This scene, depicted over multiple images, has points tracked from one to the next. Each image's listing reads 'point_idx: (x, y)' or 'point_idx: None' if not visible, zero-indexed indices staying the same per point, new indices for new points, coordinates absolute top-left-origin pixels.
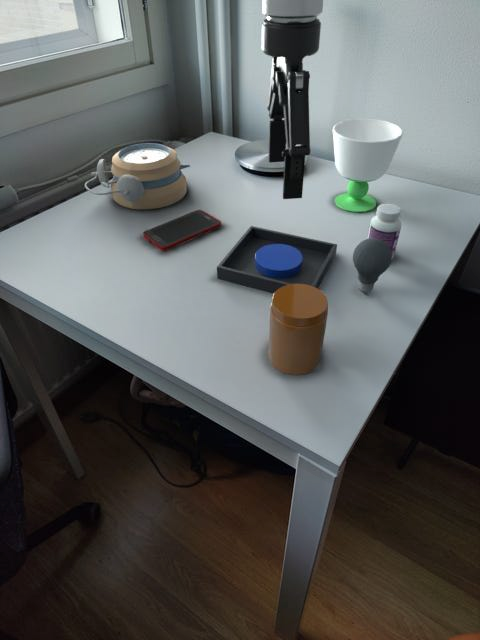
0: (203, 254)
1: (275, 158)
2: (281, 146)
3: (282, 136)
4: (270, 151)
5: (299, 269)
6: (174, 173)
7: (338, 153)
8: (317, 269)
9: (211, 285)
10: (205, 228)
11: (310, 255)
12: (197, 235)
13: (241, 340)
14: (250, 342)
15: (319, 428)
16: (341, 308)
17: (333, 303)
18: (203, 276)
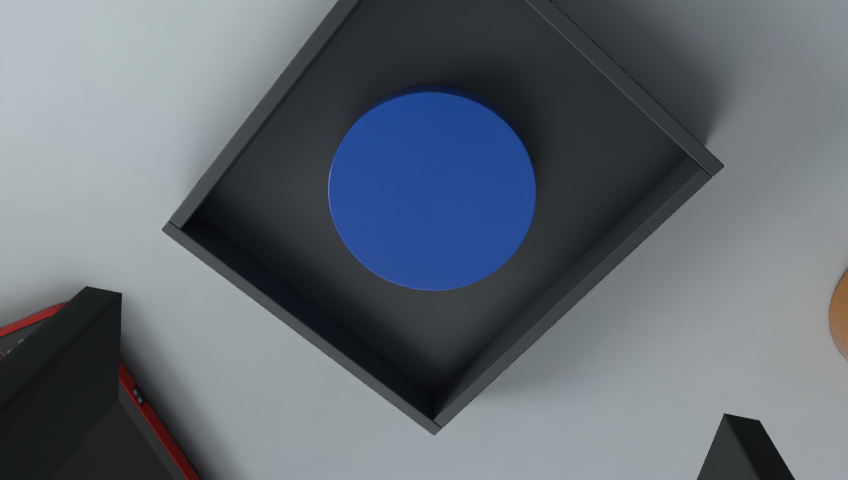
0: (268, 406)
1: (105, 376)
2: (55, 391)
3: (3, 445)
4: (77, 447)
5: (512, 124)
6: None
7: None
8: (523, 38)
9: (464, 428)
10: None
11: (409, 22)
12: (148, 407)
13: (767, 421)
14: (789, 401)
15: None
16: (785, 45)
17: (742, 63)
18: (405, 437)
